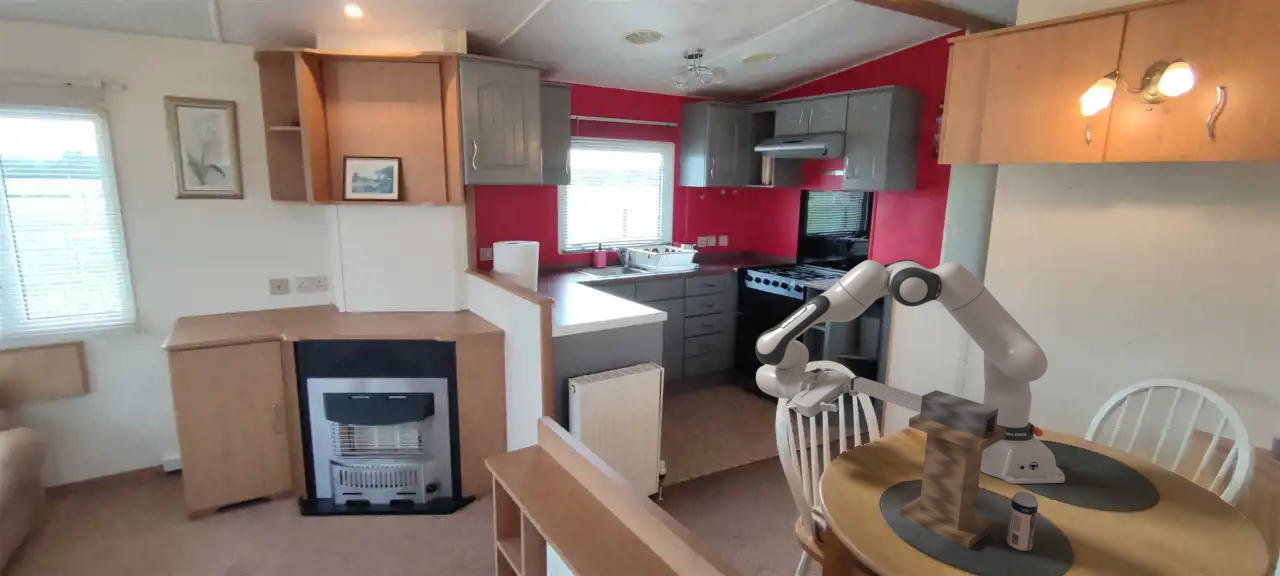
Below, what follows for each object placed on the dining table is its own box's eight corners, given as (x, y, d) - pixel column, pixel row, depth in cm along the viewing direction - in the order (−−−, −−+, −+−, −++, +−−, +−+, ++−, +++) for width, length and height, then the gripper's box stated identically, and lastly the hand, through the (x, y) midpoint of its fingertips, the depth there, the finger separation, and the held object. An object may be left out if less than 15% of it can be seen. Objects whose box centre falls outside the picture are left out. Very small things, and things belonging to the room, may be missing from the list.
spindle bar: (850, 389, 157) (850, 378, 156) (856, 386, 159) (857, 376, 158) (932, 416, 140) (933, 404, 139) (938, 413, 141) (940, 401, 141)
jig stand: (900, 515, 144) (911, 397, 139) (926, 499, 151) (938, 386, 146) (968, 548, 132) (983, 420, 126) (993, 529, 139) (1009, 407, 133)
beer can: (1035, 554, 130) (1042, 503, 128) (1011, 551, 131) (1018, 501, 129) (1026, 540, 135) (1033, 492, 132) (1002, 538, 136) (1009, 489, 133)
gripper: (780, 395, 166) (823, 407, 155) (823, 364, 177) (866, 374, 167) (784, 415, 168) (827, 428, 157) (826, 383, 179) (868, 394, 168)
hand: (847, 400), depth 162 cm, fingers open, 8 cm apart
